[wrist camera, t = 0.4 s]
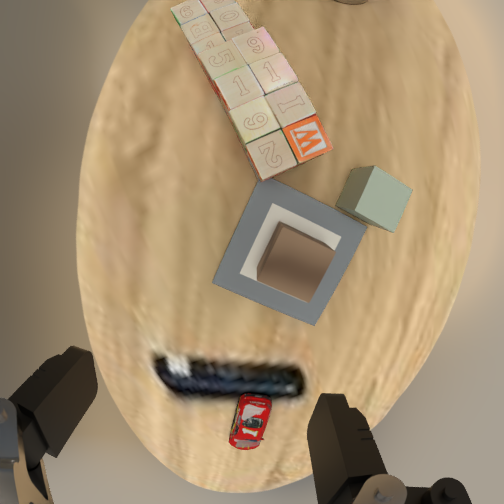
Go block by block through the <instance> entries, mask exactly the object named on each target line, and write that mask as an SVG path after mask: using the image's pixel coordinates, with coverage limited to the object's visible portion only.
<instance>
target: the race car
mask: <svg viewBox="0 0 504 504" xmlns="http://www.w3.org/2000/svg"><path fill="white" fill-rule="evenodd" d="M271 408H272V402H271V399H270V397H267V395H266V396H265V395H259V394H251V393H250V394H249V393H248V394H243V395H242V396H241V397H240V398H239V401H238V405H237V409H236V411H235V416H234V420H233V424H232V428H231V434H230V437H229V443H230V444H231V445H232V446H234V447H235V448H237V449H241V450H249V449H254V448H256V447H258V446H259V444H260V441H261V440H264V438H262V436H263V433H264V431H265V428H266V425H267V422H268V419H269V417H270V414H271Z"/></svg>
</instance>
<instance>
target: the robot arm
mask: <svg viewBox="0 0 504 504" xmlns="http://www.w3.org/2000/svg"><path fill="white" fill-rule="evenodd" d="M336 1H339V2H343V3H347V4H361V3H364V2H366V1H368V0H336ZM97 389H98V383H97V378H96V372H95V367H94V360H93V355H92V353H91V352H90V351H87V350H84V349H81V348H78V347H75V346H70V347H69V348H68V349H67V350H66V351H65V352H64V353H63V354H62V355H59V354H58V355H56V356H54V357H52V358H49V359H47V360H46V361H45V362H44V363H43V364H42V365H41V366H40V367H39V370H38V369H37V370H36V371H35V372H34V373H33V375H32V376H30V377H29V378H28V379H27V380H26V381H25V382H24V383H23V384H22V385H21V386H20V387H19V388H18V389H17V390H16V391H15V392H14V393H13V395H12V396H11V397H10V398H9V399H5V398H0V504H54V502H53V499H52V495H51V491H50V488H49V484H48V480H47V475H46V470H45V465H44V461H43V459H42V457H43V455H44V454H45V452H46V453H48V454H49V455H51V456H53V457H55V458H57V456H58V455H59V453H60V452H61V450H62V448H63V447H64V445H65V444H66V442H67V440H68V439H69V437H70V436H71V434H72V432H73V431H74V429H75V428H76V426H77V425H78V423H79V421H80V420H81V419H82V417H83V416H84V414H85V412H86V411H87V409H88V408H89V406H90V405H91V403H92V402H93V400H94V399H95V397H96V394H97ZM307 440H308V445H309V451H310V457H311V463H312V469H313V475H314V481H315V488H316V494H317V500H318V504H472V503H471V500H470V498H469V496H468V494H467V491H466V489H465V487H464V486H463V484H462V483H461V482H459V481H458V480H456V479H453V478H442V479H440V480H438V481H437V482H436V483H434V484H433V486H431V487H430V488H426V487H406V486H405V485H404V483H403V482H402V481H401V480H400V479H398V478H397V477H395V476H392V475H388V473H387V471H386V468H385V466H384V463H383V460H382V458H381V455H380V453H379V450H378V448H377V445H376V443H375V440H373V435H372V433H371V431H370V428H369V425H368V423H367V420H366V418H365V417H364V416H363V414H362V413H361V412H360V411H359V410H358V409H357V408H349V405H348V403H347V400H346V397H345V395H344V394H331V393H322V394H321V395H320V396H319V399H318V401H317V404H316V406H315V409H314V411H313V414H312V416H311V419H310V421H309V424H308V429H307Z"/></svg>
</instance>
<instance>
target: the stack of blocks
mask: <svg viewBox="0 0 504 504" xmlns="http://www.w3.org/2000/svg"><path fill="white" fill-rule="evenodd" d="M171 11H172V13H173V15H174V17H175V19H176V21H177V23H178V24H179V26H180V28H181V29H182V31H183V33H184V35H185V36H186V38H187V40H188V42H189V44H190V46H191V48H192V50H193V51H194V53H195V55H196V57H197V59H198V61H199V63H200V65H201V67H202V69H203V71H204V72H205V74H206V76H207V78H208V80H209V82H210V84H211V86H212V88H213V89H214V91H215V93H216V94H217V96H218V98H219V100H220V102H221V104H222V106H223V108H224V110H225V112H226V114H227V116H228V117H229V119H230V121H231V123H232V125H233V127H234V129H235V131H236V134H237V136H238V138H239V141H240V143H241V145H242V147H243V149H244V151H245V153H246V155H247V157H248V160H249V162H250V165H251V167H252V169H253V171H254V173H255V175H256V177H257V179H258V181H259V182H263V181H265V180H267V179H269V178H271V177H273V176H276V175H278V174H280V173H282V172H285V171H287V170H289V169H291V168H294V167H296V166H298V165H300V164H303V163H305V162H307V161H309V160H311V159H314V158H316V157H318V156H320V155H323V154H324V153H326V152H328V151H330V150H332V149H333V146H332V144H331V142H330V140H329V138H328V136H327V134H326V132H325V130H324V128H323V126H322V124H321V122H320V120H319V118H318V116H317V115H316V110H315V108H314V107H313V105H312V103H311V101H310V99H309V98H308V96H307V94H306V92H305V91H304V89H303V87H302V86H301V84H300V83H299V82H298V77H297V76H296V74H295V72H294V71H293V69H292V68H291V66H290V64H289V63H288V61H287V60H286V58H285V57H284V55H283V54H282V53H281V52H280V50H279V48H278V47H277V45H276V44H275V42H274V41H273V39H272V38H271V36H270V35H269V34H268V32H267V31H266V29H265V28H264V27H261V28H258V29H254V27H253V26H252V24H251V23H250V20H249V18H248V17H247V15H246V14H245V12H244V11H243V10H242V8H241V7H240V6H239V4H238V3H237V2H235V1H234V0H188V1H185V2H183V3H181V4H179V5H177V6H174V7H172V8H171Z"/></svg>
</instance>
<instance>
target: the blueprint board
mask: <svg viewBox="0 0 504 504" xmlns="http://www.w3.org/2000/svg"><path fill="white" fill-rule="evenodd" d="M366 229H367V227H366V226H364V225H363V224H361V223H359V222H357V221H355V220H354V219H352V218H350V217H348V216H346V215H344V214H342V213H340V212H339V211H337V210H335V209H333V208H331V207H329V206H327V205H325V204H323V203H321V202H319V201H317V200H315V199H313V198H311V197H309V196H307V195H305V194H303V193H301V192H299V191H297V190H295V189H293V188H291V187H289V186H287V185H285V184H283V183H281V182H279V181H276V180H274V179H272V178H269V179H267V180H265V181H263V182H259V181H258V182H257V185H256V187H255V189H254V191H253V193H252V195H251V198H250V200H249V202H248V204H247V206H246V208H245V211H244V213H243V215H242V217H241V219H240V221H239V224H238V226H237V228H236V230H235V232H234V235H233V237H232V239H231V241H230V243H229V246H228V248H227V250H226V252H225V255H224V257H223V259H222V261H221V264H220V266H219V268H218V270H217V273H216V275H215V277H214V279H213V282H212V283H213V284H216V285H218V286H220V287H222V288H225V289H227V290H229V291H232V292H234V293H236V294H239V295H241V296H243V297H245V298H248V299H250V300H252V301H255V302H257V303H260V304H262V305H264V306H267V307H269V308H271V309H274V310H276V311H279V312H281V313H284V314H286V315H288V316H291V317H293V318H296V319H298V320H301V321H303V322H306V323H308V324H311V325H313V326H315V324H316V322H317V321H318V319H319V317H320V316H321V314H322V312H323V310H324V309H325V307H326V305H327V303H328V302H329V300H330V298H331V296H332V294H333V293H334V291H335V289H336V287H337V285H338V283H339V282H340V280H341V278H342V276H343V274H344V272H345V270H346V268H347V267H348V265H349V263H350V261H351V259H352V257H353V255H354V253H355V251H356V249H357V247H358V245H359V243H360V241H361V239H362V237H363V235H364V233H365V231H366Z"/></svg>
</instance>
